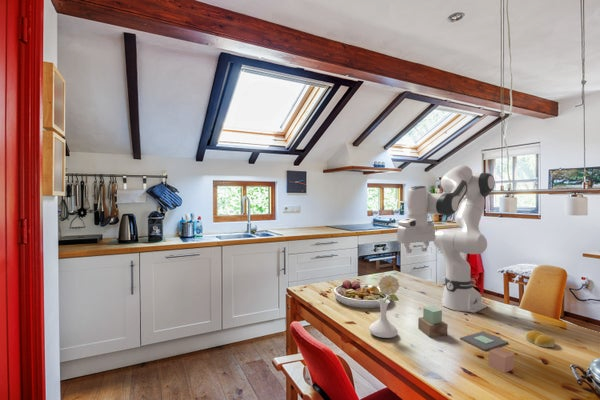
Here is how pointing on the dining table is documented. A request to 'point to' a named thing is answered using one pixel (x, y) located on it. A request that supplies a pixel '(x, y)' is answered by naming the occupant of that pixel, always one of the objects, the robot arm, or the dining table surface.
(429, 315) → the green block
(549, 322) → the dining table surface
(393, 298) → the flower in vase
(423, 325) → the walnut base block
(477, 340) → the card
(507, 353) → the terracotta block
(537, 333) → the bread roll
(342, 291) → the bowl
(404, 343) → the dining table surface
